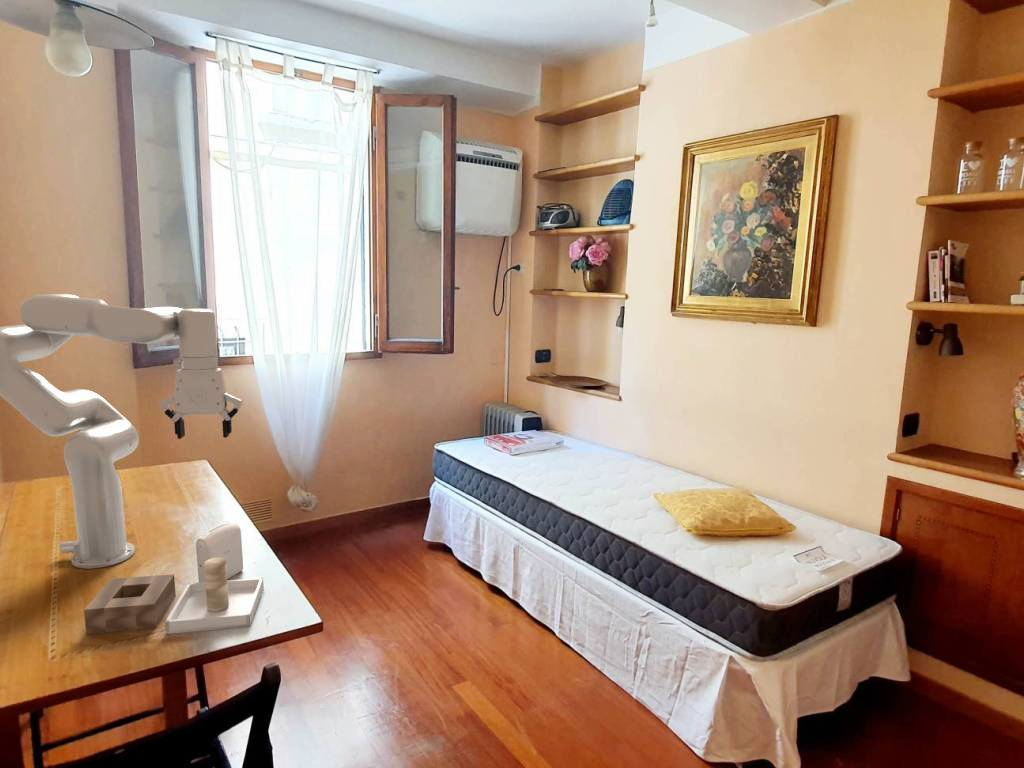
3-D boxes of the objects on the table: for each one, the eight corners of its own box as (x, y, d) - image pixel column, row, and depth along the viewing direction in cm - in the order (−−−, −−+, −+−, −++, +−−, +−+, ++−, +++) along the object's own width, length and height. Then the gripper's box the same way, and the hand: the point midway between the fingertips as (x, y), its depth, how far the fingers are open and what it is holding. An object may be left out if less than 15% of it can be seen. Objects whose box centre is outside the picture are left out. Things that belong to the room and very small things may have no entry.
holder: (86, 633, 116) (83, 609, 115) (112, 601, 128) (110, 578, 127) (156, 627, 119) (154, 604, 118) (175, 596, 130) (174, 574, 129)
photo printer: (210, 590, 133) (206, 537, 131) (195, 586, 134) (191, 533, 132) (246, 570, 142) (243, 519, 140) (232, 566, 144) (229, 516, 142)
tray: (166, 633, 117) (165, 621, 116) (189, 594, 131) (188, 583, 131) (250, 626, 120) (249, 614, 119) (263, 588, 134) (263, 577, 134)
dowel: (210, 614, 123) (207, 568, 121) (204, 606, 126) (201, 561, 124) (231, 607, 125) (228, 562, 124) (225, 600, 128) (222, 555, 126)
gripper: (151, 366, 133) (157, 442, 136) (236, 365, 137) (240, 440, 140) (163, 361, 141) (168, 433, 144) (243, 361, 144) (247, 431, 147)
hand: (204, 436), depth 142 cm, fingers open, 9 cm apart
